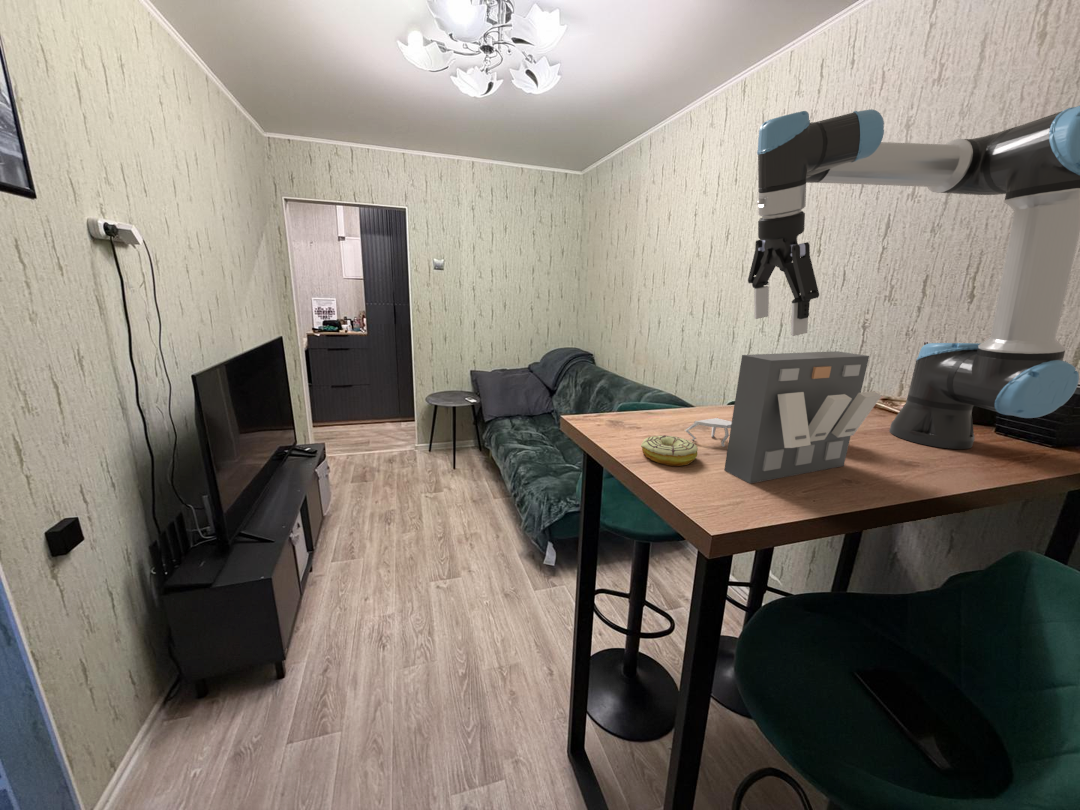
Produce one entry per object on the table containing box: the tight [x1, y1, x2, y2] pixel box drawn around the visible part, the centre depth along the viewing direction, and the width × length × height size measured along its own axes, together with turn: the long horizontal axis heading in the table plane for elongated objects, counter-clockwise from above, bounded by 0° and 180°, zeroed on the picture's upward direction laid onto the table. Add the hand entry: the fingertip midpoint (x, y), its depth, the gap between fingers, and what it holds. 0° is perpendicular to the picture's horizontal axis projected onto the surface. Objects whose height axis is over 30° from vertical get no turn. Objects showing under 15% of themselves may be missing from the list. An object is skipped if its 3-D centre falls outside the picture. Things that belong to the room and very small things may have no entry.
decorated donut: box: [640, 435, 699, 467], centre depth 87 cm, size 10×11×4 cm
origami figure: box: [684, 417, 732, 447], centre depth 97 cm, size 12×8×5 cm
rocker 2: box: [832, 390, 882, 437], centre depth 79 cm, size 2×4×9 cm, turn 112°
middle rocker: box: [808, 394, 852, 442], centre depth 76 cm, size 2×4×9 cm, turn 112°
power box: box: [724, 350, 870, 484], centre depth 81 cm, size 6×25×22 cm, turn 112°
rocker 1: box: [778, 392, 811, 448], centre depth 72 cm, size 2×4×9 cm, turn 112°
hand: (778, 325), depth 88 cm, fingers open, 13 cm apart
